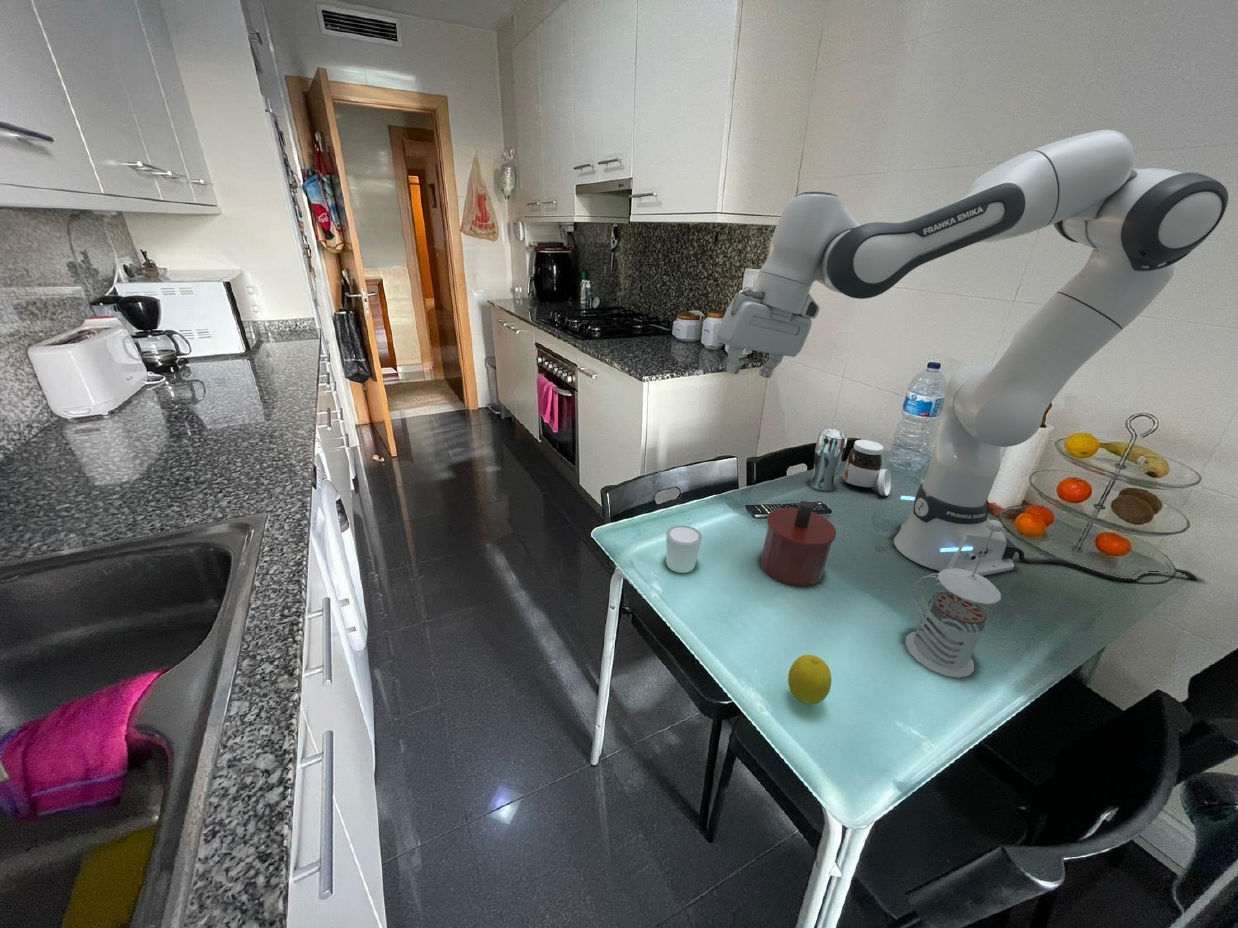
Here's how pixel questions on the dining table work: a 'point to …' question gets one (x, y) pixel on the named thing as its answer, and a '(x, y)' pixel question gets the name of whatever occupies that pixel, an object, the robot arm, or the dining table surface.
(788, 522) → the tin lid
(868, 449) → the spread jar
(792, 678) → the lemon
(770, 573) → the tin
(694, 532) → the white cup
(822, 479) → the beer glass
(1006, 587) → the dining table surface
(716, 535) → the dining table surface
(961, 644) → the french press
